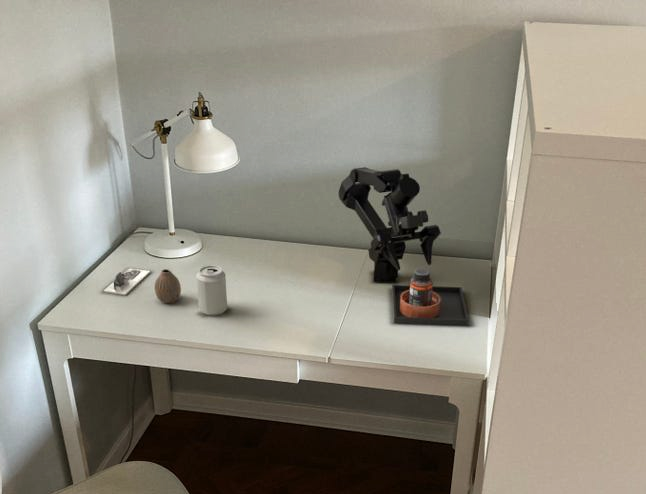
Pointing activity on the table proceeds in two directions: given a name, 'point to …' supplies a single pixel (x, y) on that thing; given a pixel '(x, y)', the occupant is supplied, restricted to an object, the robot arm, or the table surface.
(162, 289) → the vase
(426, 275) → the supplement bottle
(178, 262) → the table surface
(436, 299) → the bowl
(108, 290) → the rock on white stand
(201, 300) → the can
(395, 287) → the tray
